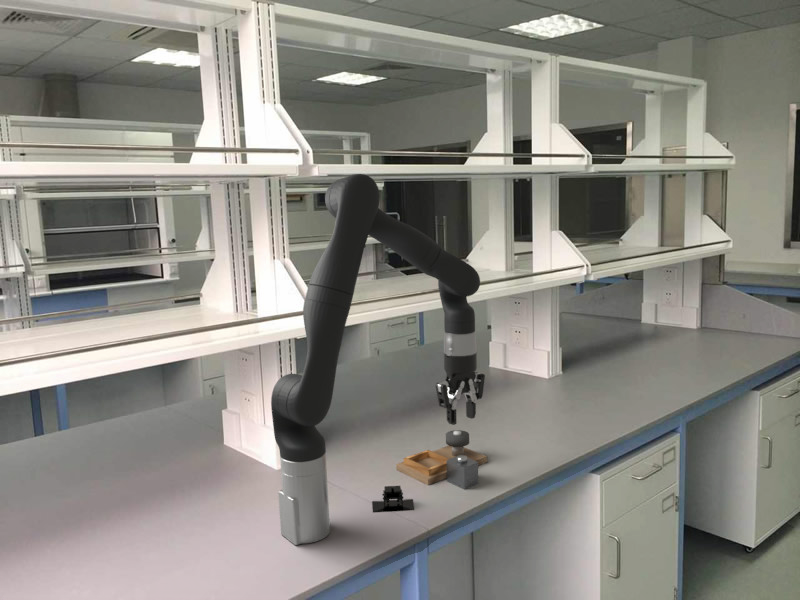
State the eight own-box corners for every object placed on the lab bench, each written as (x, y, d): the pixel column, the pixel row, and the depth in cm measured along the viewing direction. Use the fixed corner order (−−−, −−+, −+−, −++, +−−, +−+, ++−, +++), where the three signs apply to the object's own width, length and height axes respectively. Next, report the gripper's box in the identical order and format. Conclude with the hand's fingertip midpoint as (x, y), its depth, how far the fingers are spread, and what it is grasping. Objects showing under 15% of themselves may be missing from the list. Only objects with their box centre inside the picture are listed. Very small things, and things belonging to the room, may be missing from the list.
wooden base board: (428, 485, 157) (427, 467, 156) (396, 469, 166) (396, 452, 165) (486, 461, 169) (486, 445, 168) (454, 448, 178) (454, 432, 178)
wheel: (457, 448, 166) (456, 438, 166) (441, 442, 171) (440, 432, 170) (474, 442, 170) (474, 432, 169) (457, 436, 174) (457, 426, 174)
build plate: (365, 517, 143) (364, 497, 143) (365, 501, 151) (364, 482, 150) (422, 514, 144) (422, 494, 143) (419, 498, 151) (419, 480, 151)
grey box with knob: (464, 490, 154) (464, 463, 153) (446, 481, 158) (446, 456, 157) (478, 484, 157) (478, 458, 156) (460, 476, 161) (460, 450, 160)
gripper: (470, 342, 160) (471, 410, 162) (426, 353, 151) (427, 424, 154) (493, 347, 154) (494, 417, 157) (448, 359, 145) (449, 432, 148)
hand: (461, 420), depth 155 cm, fingers open, 5 cm apart
